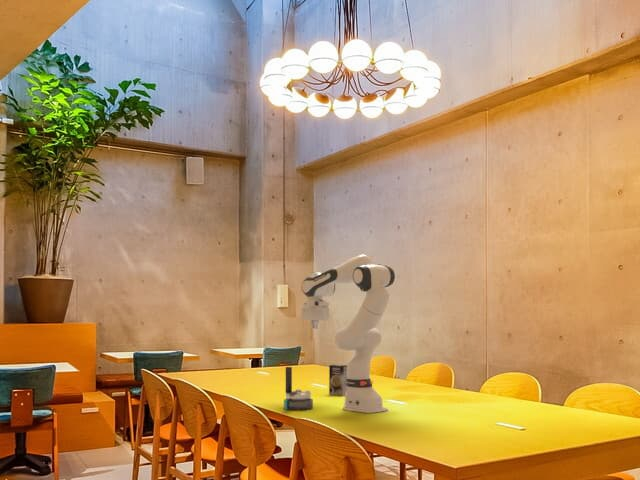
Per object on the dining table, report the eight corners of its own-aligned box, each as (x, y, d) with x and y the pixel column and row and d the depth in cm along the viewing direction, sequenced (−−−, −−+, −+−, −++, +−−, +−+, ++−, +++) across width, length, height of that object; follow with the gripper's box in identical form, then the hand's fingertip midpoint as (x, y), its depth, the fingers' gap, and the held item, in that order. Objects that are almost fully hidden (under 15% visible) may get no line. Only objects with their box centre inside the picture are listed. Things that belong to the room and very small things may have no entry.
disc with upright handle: (297, 396, 332) (297, 364, 333) (315, 399, 324) (315, 365, 325) (277, 400, 321) (277, 366, 322) (295, 402, 313) (295, 368, 314)
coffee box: (328, 394, 368) (328, 365, 370) (333, 393, 374) (333, 364, 376) (343, 395, 364) (343, 366, 366) (348, 394, 370) (348, 364, 371)
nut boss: (318, 408, 322) (318, 398, 322) (293, 411, 312) (293, 400, 313) (301, 404, 333) (301, 394, 333) (276, 407, 323) (276, 397, 324)
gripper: (298, 302, 361) (298, 328, 360) (321, 302, 345) (321, 329, 344) (307, 302, 365) (307, 327, 364) (331, 302, 349) (331, 329, 348)
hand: (314, 328), depth 353 cm, fingers closed
